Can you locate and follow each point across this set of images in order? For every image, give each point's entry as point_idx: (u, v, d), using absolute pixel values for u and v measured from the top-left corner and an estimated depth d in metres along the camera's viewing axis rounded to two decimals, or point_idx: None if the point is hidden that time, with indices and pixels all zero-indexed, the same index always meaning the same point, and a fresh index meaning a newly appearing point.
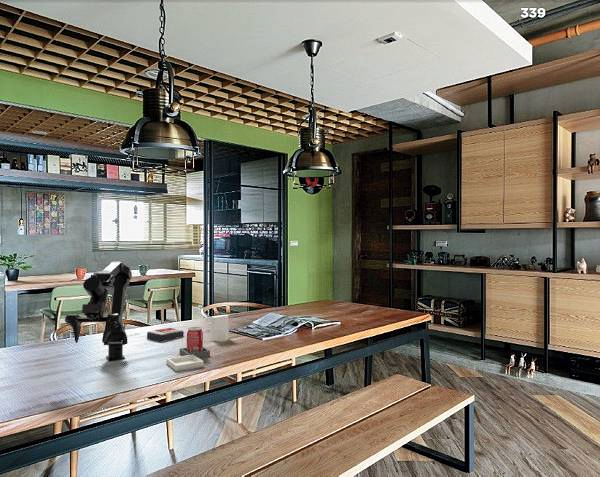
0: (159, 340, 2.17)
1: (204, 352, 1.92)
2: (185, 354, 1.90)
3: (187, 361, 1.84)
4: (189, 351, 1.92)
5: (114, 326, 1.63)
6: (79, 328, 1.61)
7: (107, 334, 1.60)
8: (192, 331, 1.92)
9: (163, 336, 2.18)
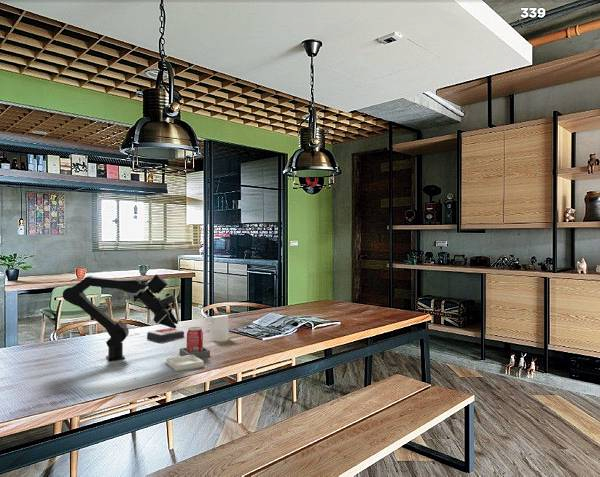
0: (159, 340, 2.17)
1: (204, 352, 1.92)
2: (185, 354, 1.90)
3: (187, 361, 1.84)
4: (189, 351, 1.92)
5: None
6: None
7: None
8: (192, 331, 1.92)
9: (163, 336, 2.17)
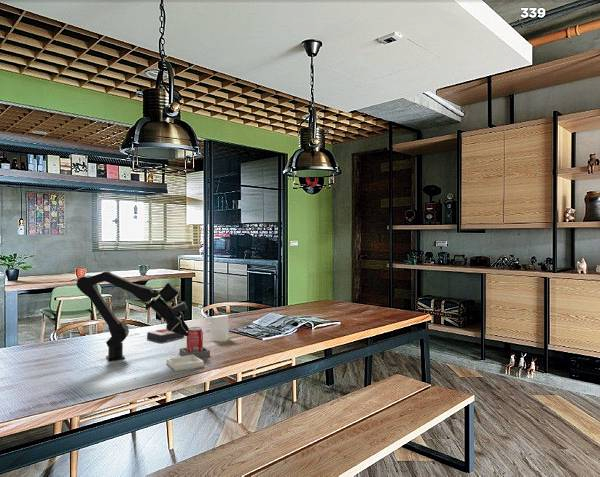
0: (158, 341, 2.16)
1: (204, 352, 1.92)
2: (185, 354, 1.90)
3: (187, 361, 1.84)
4: (189, 351, 1.92)
5: None
6: None
7: None
8: (192, 331, 1.92)
9: (162, 337, 2.17)
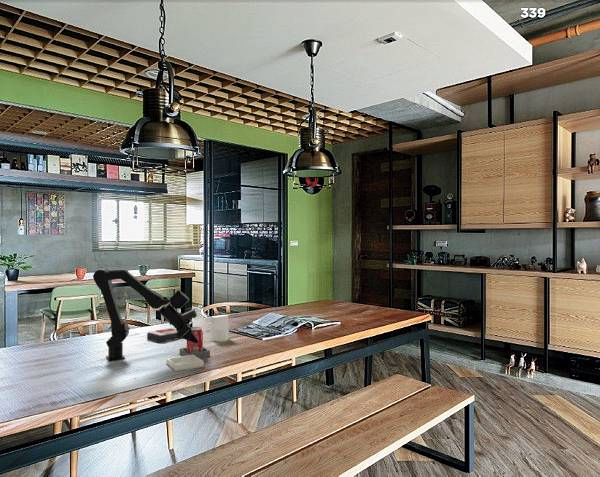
0: (158, 341, 2.16)
1: (204, 352, 1.92)
2: (185, 354, 1.90)
3: (187, 361, 1.84)
4: (189, 351, 1.92)
5: None
6: None
7: None
8: (192, 331, 1.92)
9: (162, 337, 2.17)
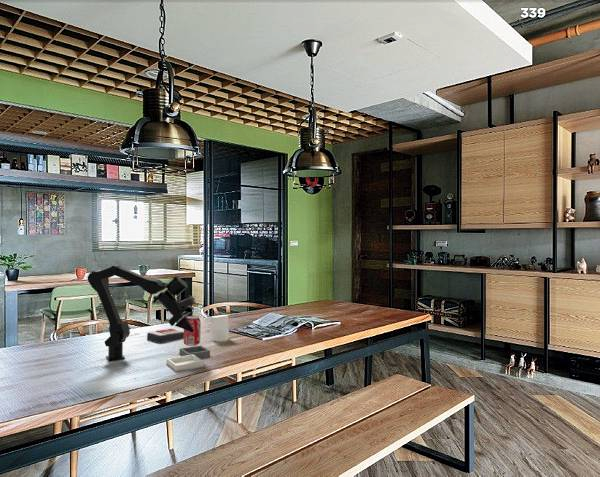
0: (158, 341, 2.15)
1: (204, 352, 1.92)
2: (185, 354, 1.90)
3: (187, 361, 1.84)
4: (185, 340, 1.85)
5: None
6: None
7: None
8: (188, 319, 1.85)
9: (162, 337, 2.16)
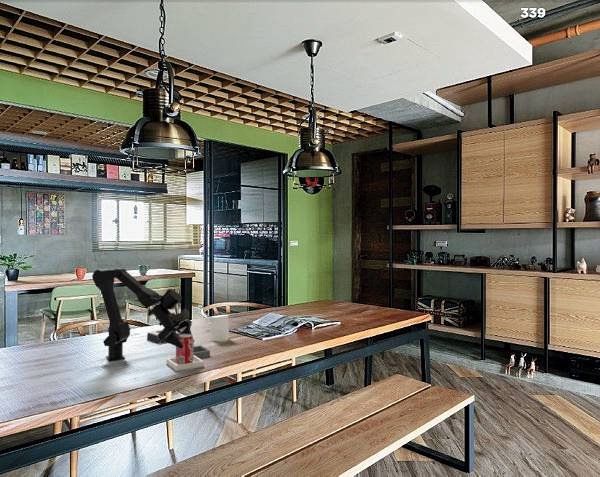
0: (157, 341, 2.15)
1: (204, 352, 1.92)
2: None
3: None
4: (176, 359, 1.78)
5: None
6: None
7: None
8: (179, 338, 1.78)
9: None
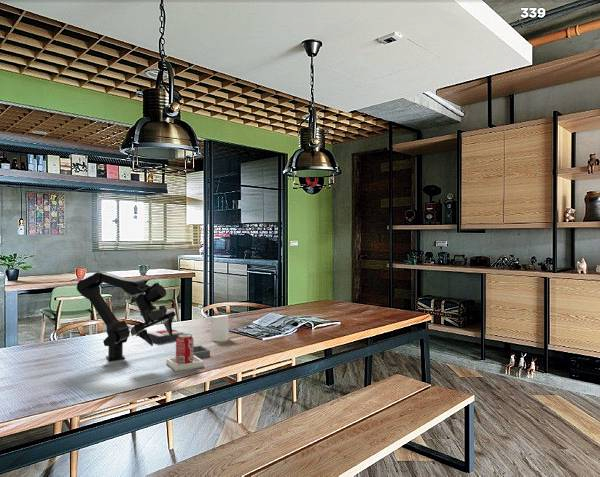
0: (157, 342, 2.14)
1: (204, 352, 1.92)
2: None
3: None
4: (176, 359, 1.78)
5: None
6: None
7: None
8: (179, 338, 1.78)
9: (161, 338, 2.15)
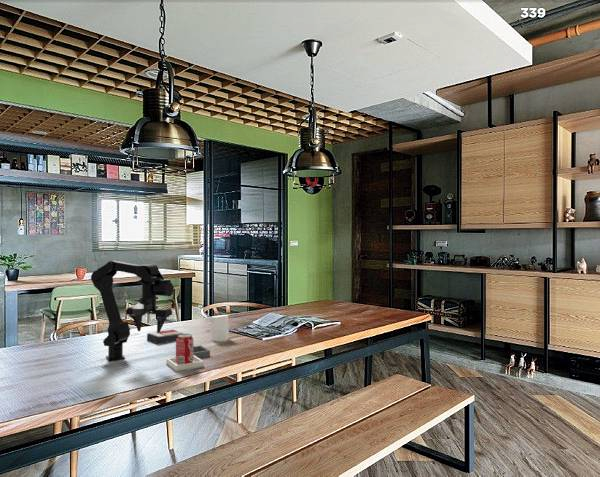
0: (156, 342, 2.13)
1: (204, 352, 1.92)
2: None
3: None
4: (176, 359, 1.78)
5: (166, 317, 1.82)
6: (140, 317, 1.85)
7: (160, 325, 1.81)
8: (179, 338, 1.78)
9: (160, 338, 2.14)
